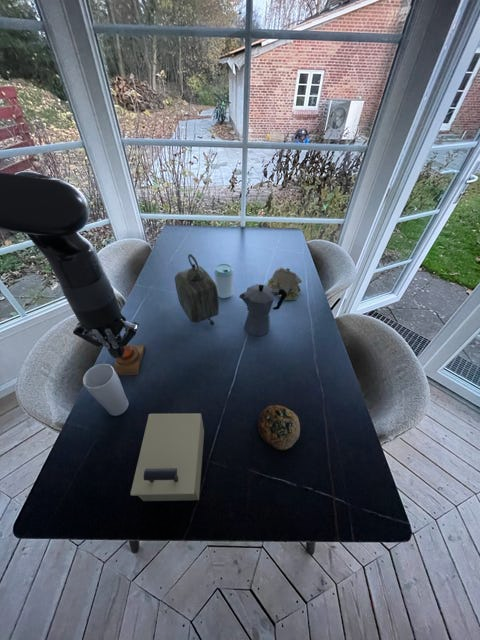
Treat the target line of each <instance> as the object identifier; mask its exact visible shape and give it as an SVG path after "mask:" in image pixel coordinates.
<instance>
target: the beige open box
mask: <svg viewBox="0 0 480 640" xmlns="http://www.w3.org/2000/svg"><path fill="white" fill-rule="evenodd" d="M204 440H205V428H204V421H203V415H201V425H200V436H199V448H198V459H197V470H196V482H195V493H194V495H145V496H138V498H139V499H140V500H141V501H143V502H172V501H173V502H175V501H176V502H177V501H200V493H201V492H200V490H201V477H202V467H203V453H204Z"/></svg>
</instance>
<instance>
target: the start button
mask: <svg viewBox="0 0 480 640" xmlns="http://www.w3.org/2000/svg"><path fill="white" fill-rule="evenodd" d="M124 349H125V351H124V354H123V356H122V357H121V358H122V359H124V360H127V359H130V358H131V357H132V356H133V354H134V353H133V350H132V348H131V347H124Z"/></svg>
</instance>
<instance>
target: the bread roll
mask: <svg viewBox="0 0 480 640" xmlns="http://www.w3.org/2000/svg"><path fill="white" fill-rule="evenodd" d="M299 420H300V419H299V416H298V415H297V414H296V413H295V412H294V411H293V410H291V409H289V408H287V407H286V406H283V405H279V404H275V405H268V406H267V407H266V408H264V409H263V410H262V411H261V412H260V414H259V416H258V418H257V426H256V428H257V432H258V434H259V437H261V439H262V440H263V441H264V442H265V443H267V444H268V445H269V446H271V447H273V448H275V449H276V450H280V451H285V450H286V451H287V450H288V449H291V448H292V447H293V446H294V445H295V444H296V442H297V441H298V440H299V438H300V435H301V423H300V421H299Z"/></svg>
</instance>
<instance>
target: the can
mask: <svg viewBox="0 0 480 640" xmlns="http://www.w3.org/2000/svg"><path fill="white" fill-rule="evenodd" d="M213 278H214V279H213V281H214V283H215V285H216V288H217V293H218V298H220V299H228V298H230V297H232V296H233V294H234V270H233V269H232V266H231V265H230V264H227V263H219V264H217V265H216V266H215V268H214V270H213Z"/></svg>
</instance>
